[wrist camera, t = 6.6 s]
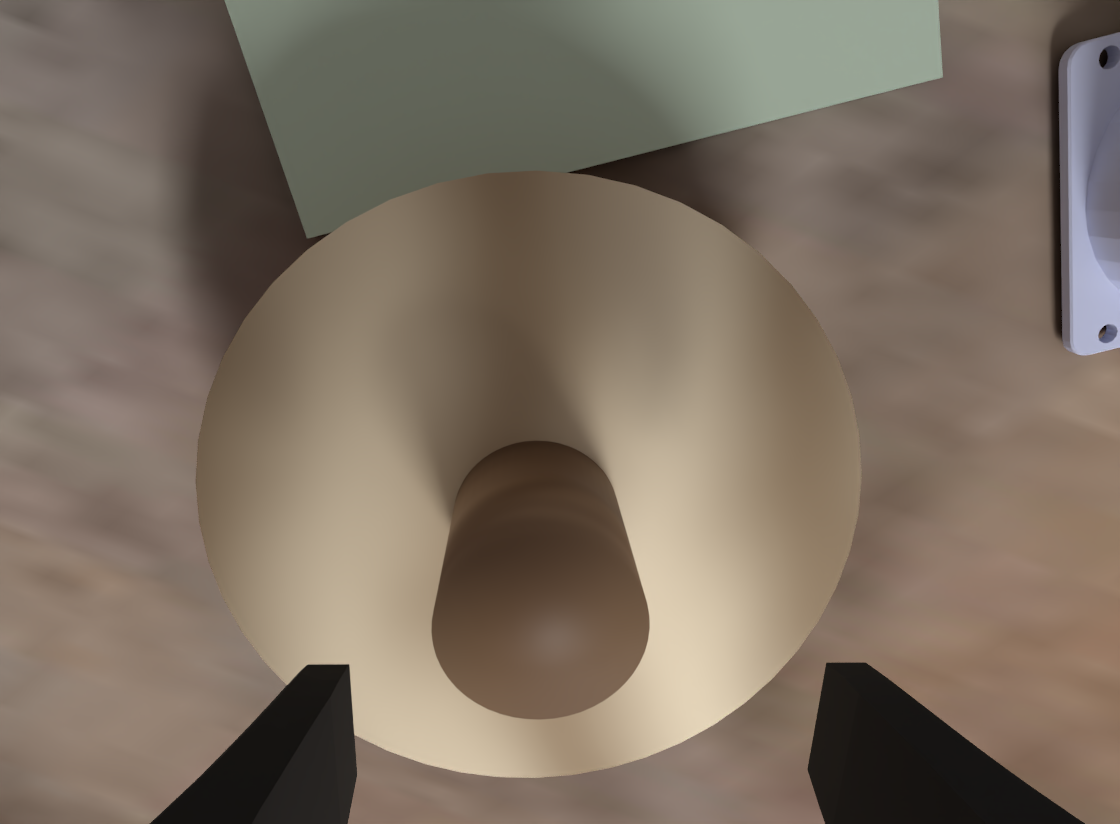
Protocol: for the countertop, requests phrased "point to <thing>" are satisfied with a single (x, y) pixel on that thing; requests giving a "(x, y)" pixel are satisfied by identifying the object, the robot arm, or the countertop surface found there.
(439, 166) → the mat
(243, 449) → the lid
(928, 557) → the countertop surface
